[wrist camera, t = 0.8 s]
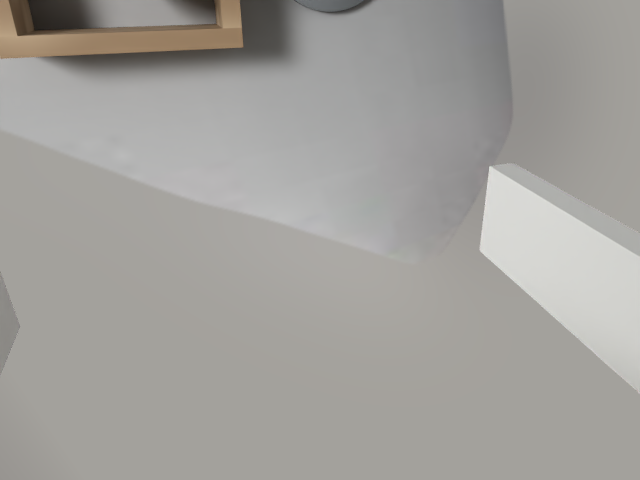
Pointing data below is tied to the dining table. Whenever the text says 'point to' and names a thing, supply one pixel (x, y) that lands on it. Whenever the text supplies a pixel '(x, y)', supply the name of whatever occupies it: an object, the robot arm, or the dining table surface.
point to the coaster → (329, 4)
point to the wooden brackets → (114, 35)
